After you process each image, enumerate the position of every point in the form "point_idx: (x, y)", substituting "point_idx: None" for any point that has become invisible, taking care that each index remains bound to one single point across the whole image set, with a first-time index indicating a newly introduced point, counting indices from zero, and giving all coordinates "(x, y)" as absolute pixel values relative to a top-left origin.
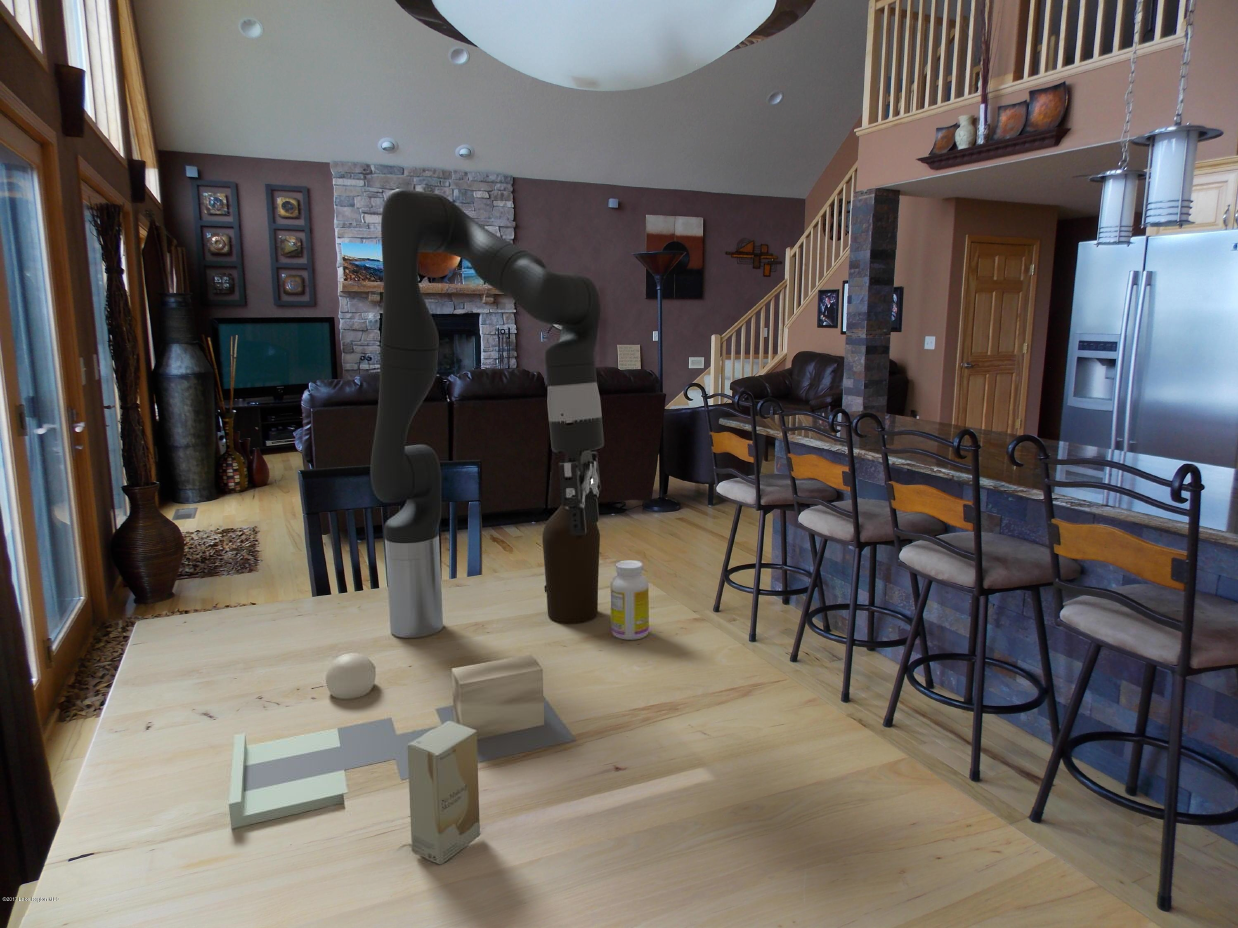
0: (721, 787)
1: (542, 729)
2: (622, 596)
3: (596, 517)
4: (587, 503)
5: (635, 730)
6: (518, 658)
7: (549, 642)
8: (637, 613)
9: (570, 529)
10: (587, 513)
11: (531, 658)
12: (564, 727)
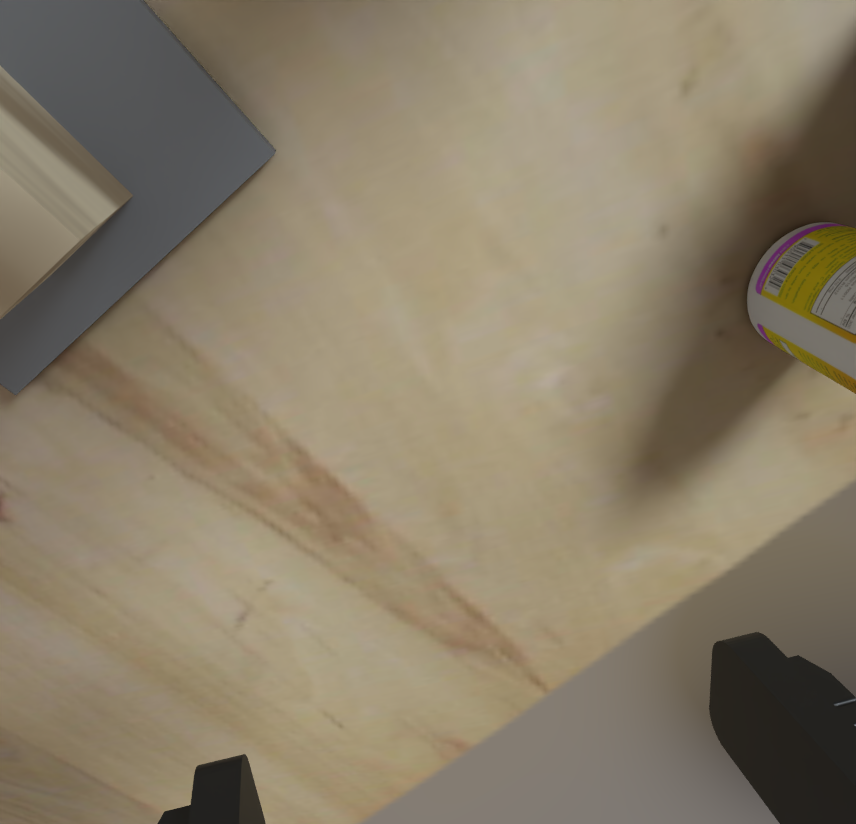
0: (40, 693)
1: None
2: (850, 331)
3: (737, 752)
4: (839, 814)
5: (189, 486)
6: (10, 202)
7: (715, 8)
8: (805, 357)
9: (193, 804)
10: (764, 725)
11: (41, 258)
12: (67, 338)
